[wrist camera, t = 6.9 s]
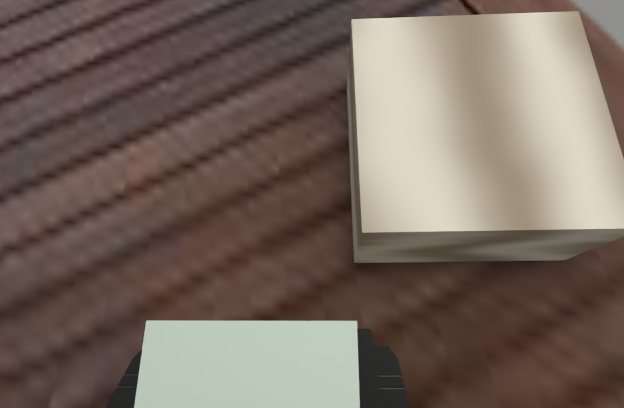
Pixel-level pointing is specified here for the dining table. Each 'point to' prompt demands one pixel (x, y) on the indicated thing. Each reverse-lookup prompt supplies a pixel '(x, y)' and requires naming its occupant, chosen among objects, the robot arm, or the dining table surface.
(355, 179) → the birch block
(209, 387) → the sage block
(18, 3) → the dining table surface
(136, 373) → the robot arm
